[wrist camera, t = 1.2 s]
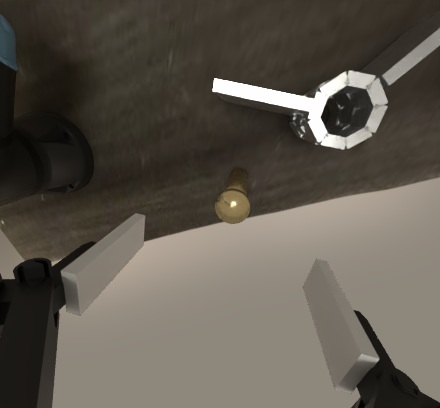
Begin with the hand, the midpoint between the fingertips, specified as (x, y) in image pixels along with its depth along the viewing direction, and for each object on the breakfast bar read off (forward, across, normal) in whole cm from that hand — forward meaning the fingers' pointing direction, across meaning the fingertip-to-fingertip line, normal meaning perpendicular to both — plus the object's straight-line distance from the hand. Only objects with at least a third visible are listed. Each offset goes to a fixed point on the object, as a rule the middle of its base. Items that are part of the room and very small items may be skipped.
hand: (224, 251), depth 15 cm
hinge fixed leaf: (+23, +4, +12) cm, 27 cm away
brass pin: (+23, 0, 0) cm, 23 cm away
